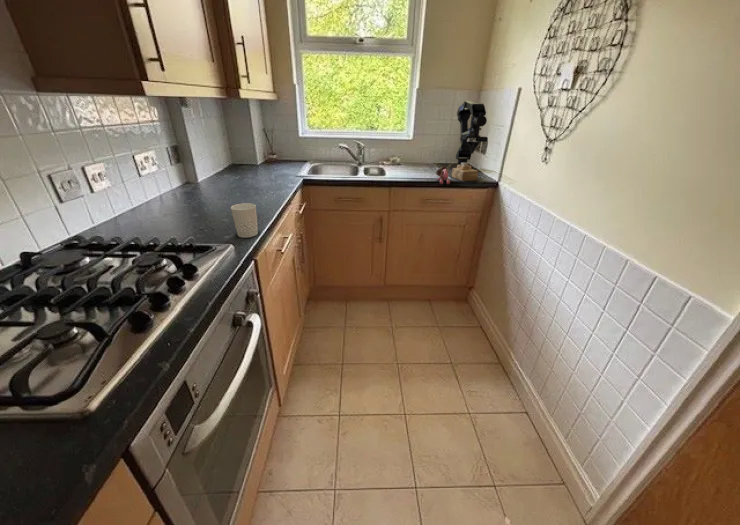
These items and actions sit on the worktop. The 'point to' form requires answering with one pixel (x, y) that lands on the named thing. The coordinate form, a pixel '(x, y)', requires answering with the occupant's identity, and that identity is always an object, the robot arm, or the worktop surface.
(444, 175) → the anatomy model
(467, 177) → the tan stepped block
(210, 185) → the worktop surface
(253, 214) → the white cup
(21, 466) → the worktop surface
